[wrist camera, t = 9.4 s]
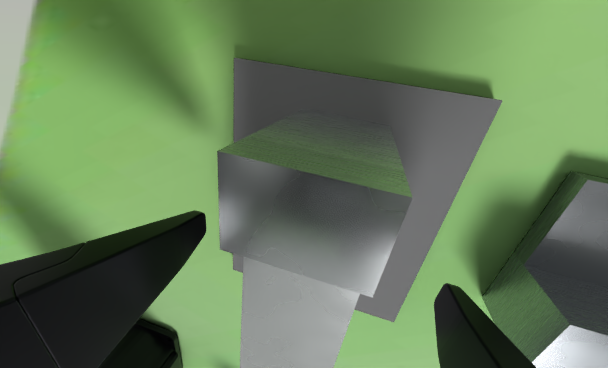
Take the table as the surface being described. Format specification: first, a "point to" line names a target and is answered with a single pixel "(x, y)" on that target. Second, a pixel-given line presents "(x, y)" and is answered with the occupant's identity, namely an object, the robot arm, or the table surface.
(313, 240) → the steel bar
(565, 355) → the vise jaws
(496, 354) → the robot arm
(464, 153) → the mat
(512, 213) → the table surface
